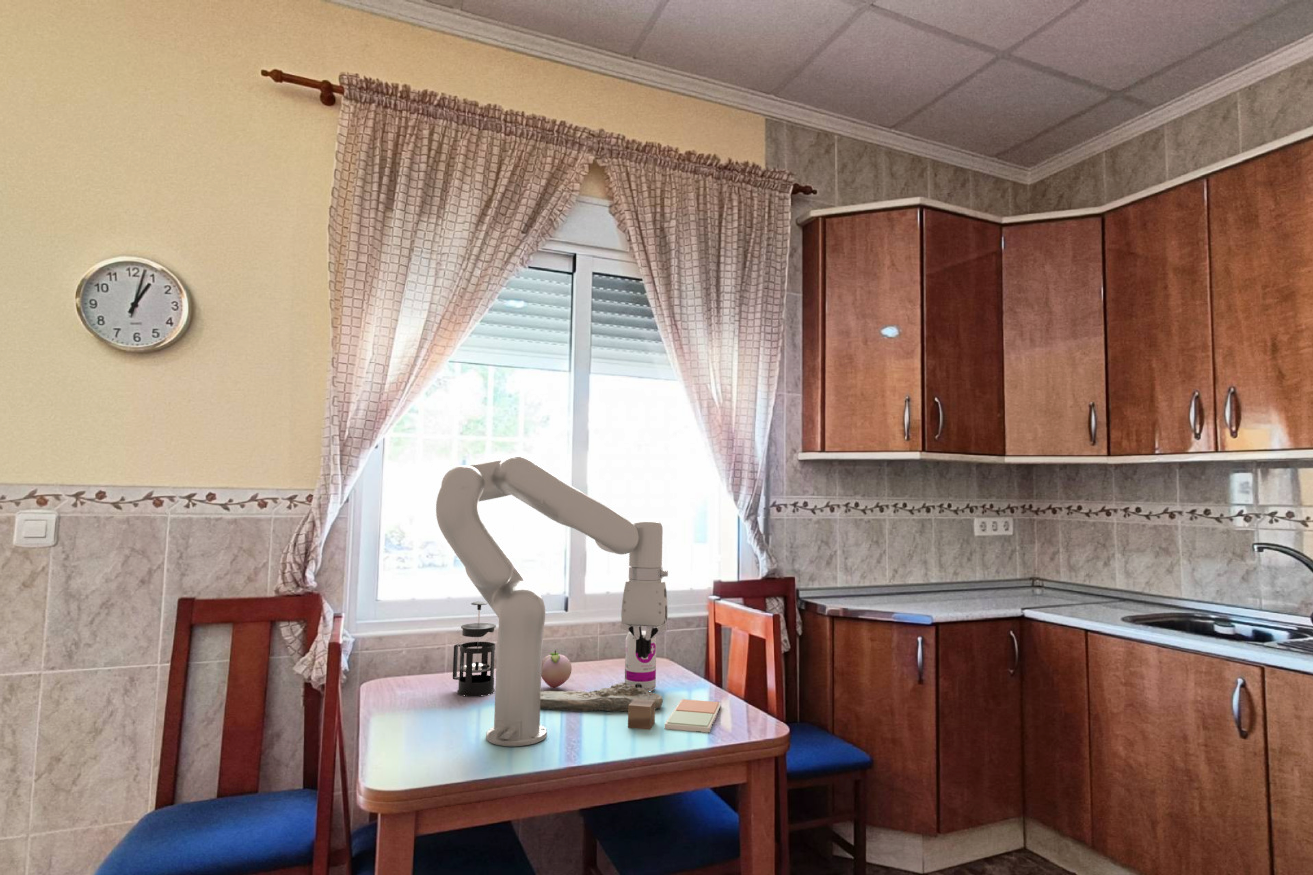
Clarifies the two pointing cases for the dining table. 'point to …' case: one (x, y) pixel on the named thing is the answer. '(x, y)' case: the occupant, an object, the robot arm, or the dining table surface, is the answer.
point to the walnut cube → (641, 714)
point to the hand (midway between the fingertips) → (643, 656)
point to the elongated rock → (598, 698)
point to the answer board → (693, 715)
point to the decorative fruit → (555, 669)
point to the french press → (476, 683)
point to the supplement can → (640, 664)
